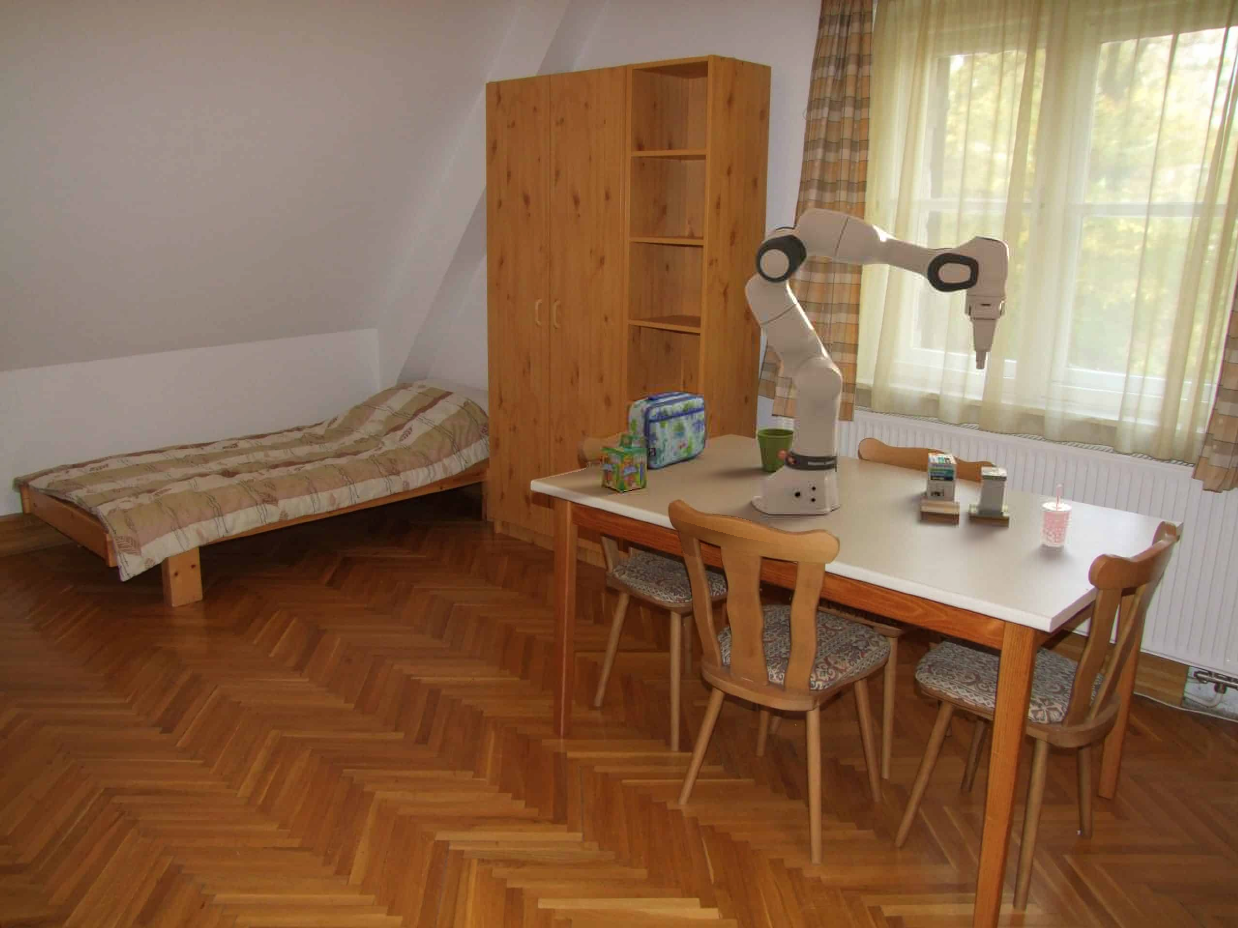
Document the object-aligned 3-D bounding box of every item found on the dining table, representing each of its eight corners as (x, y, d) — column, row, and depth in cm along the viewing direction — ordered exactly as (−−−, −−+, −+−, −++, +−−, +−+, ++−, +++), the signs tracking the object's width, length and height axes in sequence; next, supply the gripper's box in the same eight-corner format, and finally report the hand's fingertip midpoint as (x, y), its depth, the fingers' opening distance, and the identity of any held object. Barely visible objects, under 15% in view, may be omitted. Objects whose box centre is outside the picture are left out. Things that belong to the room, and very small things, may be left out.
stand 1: (958, 524, 255) (959, 514, 254) (920, 520, 258) (921, 511, 257) (958, 511, 265) (959, 501, 264) (922, 508, 268) (922, 499, 267)
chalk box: (601, 486, 290) (600, 434, 286) (627, 480, 295) (626, 430, 291) (621, 493, 283) (621, 440, 279) (647, 487, 288) (648, 435, 284)
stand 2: (1008, 526, 253) (1009, 516, 252) (969, 523, 256) (970, 513, 255) (1006, 513, 263) (1007, 503, 263) (969, 510, 266) (970, 501, 265)
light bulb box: (954, 503, 272) (957, 463, 270) (928, 501, 274) (931, 462, 271) (950, 492, 282) (953, 453, 280) (924, 490, 284) (927, 452, 281)
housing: (1002, 516, 252) (1006, 476, 250) (978, 514, 254) (982, 474, 251) (1001, 507, 260) (1005, 468, 257) (978, 505, 261) (981, 466, 259)
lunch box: (649, 472, 303) (649, 402, 298) (624, 466, 311) (623, 397, 306) (709, 457, 320) (710, 390, 315) (684, 451, 328) (685, 386, 323)
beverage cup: (1053, 549, 237) (1059, 490, 233) (1033, 541, 242) (1039, 483, 239) (1073, 545, 239) (1079, 487, 236) (1053, 537, 245) (1059, 480, 241)
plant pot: (801, 467, 308) (802, 430, 305) (785, 476, 298) (786, 438, 296) (764, 462, 314) (765, 426, 311) (747, 471, 305) (748, 433, 302)
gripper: (970, 302, 253) (965, 358, 257) (970, 311, 235) (965, 371, 238) (997, 303, 252) (992, 359, 255) (1000, 312, 233) (995, 373, 236)
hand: (979, 365), depth 246 cm, fingers open, 8 cm apart
